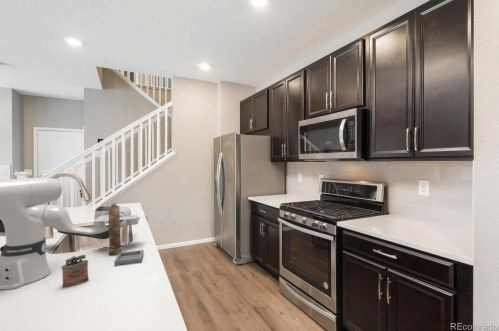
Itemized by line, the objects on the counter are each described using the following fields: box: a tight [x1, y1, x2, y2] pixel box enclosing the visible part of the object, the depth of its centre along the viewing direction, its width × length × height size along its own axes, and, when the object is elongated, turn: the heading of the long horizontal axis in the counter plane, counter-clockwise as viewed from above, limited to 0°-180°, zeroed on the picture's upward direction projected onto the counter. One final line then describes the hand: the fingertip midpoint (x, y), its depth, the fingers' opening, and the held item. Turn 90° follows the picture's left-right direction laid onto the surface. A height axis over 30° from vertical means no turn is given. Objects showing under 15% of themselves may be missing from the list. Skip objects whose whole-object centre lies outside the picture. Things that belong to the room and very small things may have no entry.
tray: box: [113, 249, 144, 267], centre depth 114 cm, size 11×11×2 cm
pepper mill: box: [108, 202, 123, 256], centre depth 121 cm, size 6×6×25 cm
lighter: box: [61, 254, 90, 289], centre depth 93 cm, size 8×3×10 cm, turn 131°
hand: (114, 225), depth 121 cm, fingers closed on pepper mill, 5 cm apart
